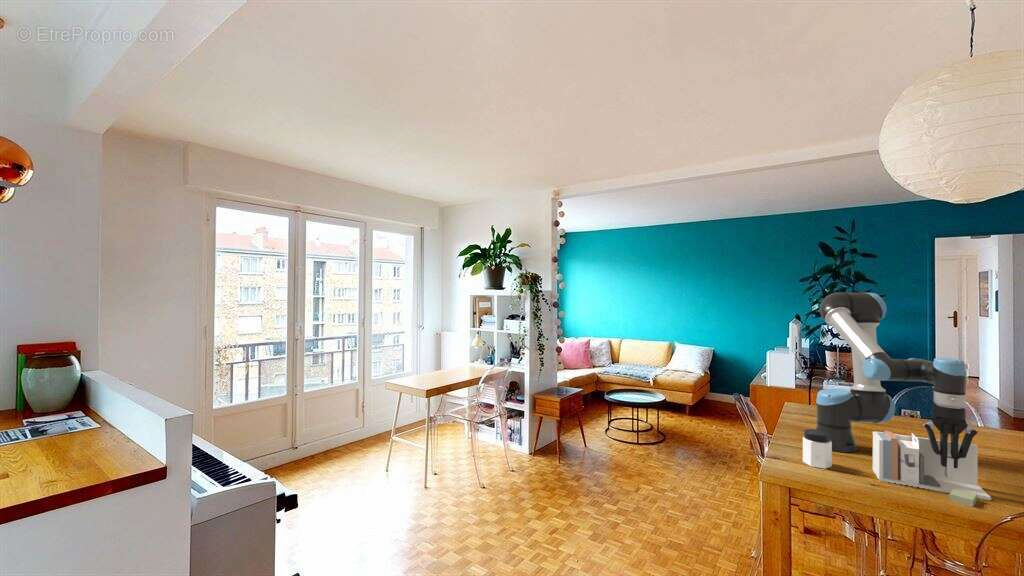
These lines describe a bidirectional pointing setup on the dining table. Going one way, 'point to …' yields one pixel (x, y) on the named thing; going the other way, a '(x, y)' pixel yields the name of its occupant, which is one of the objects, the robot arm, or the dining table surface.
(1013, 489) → the dining table surface
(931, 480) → the bookend
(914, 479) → the ink box
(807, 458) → the jar
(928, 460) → the shelf
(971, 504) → the fallen book
